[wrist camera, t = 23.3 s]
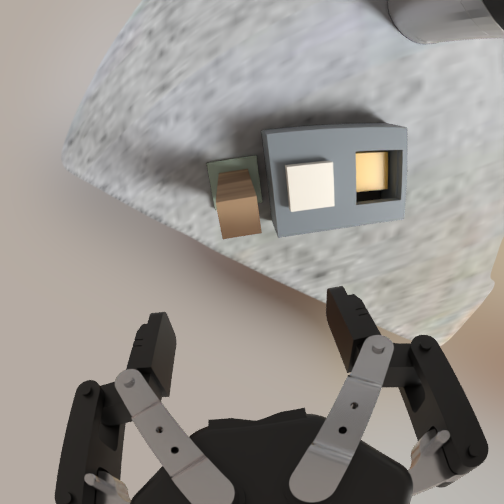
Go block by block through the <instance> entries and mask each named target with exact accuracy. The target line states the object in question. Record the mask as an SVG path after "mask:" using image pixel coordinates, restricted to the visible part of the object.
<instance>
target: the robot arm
mask: <svg viewBox="0 0 504 504" xmlns="http://www.w3.org/2000/svg"><path fill="white" fill-rule="evenodd" d="M388 10H389V14H390V16H391V19H392V21H393V22H394V24H395V26H396V27H397V28H398V29H399V31H400V32H401V33H402V34H403V35H404V36H406V37H407V38H408V39H410V40H412V41H414V42H416V43H419V44H434V43H439V42H448V41H458V40H469V39H488V38H504V0H388ZM326 316H327V321H328V325H329V327H330V330H331V332H332V334H333V337H334V340H335V342H336V345H337V347H338V350H339V352H340V355H341V358H342V360H343V363H344V365H345V368H346V370H347V373H349V372H351V374H350V375H348V377H347V378H346V380H345V382H344V384H343V387H342V389H341V391H340V393H339V395H338V397H337V399H336V401H335V403H334V405H333V407H332V409H331V411H330V412H329V414H328V416H327V418H325V417H323V416H319V415H314V414H306V412H305V408H301V409H296V410H290V411H284V412H280V413H277V414H274V415H272V416H269V417H267V418H264V419H261V420H258V421H251V420H243V419H234V418H228V419H216V420H209V426H208V427H205V428H203V429H200V430H198V431H196V432H195V433H193V434H192V435H191V436H190V437H188V436H187V434H186V433H185V432H184V431H183V429H182V428H181V427H180V426H179V425H178V423H177V422H176V421H175V419H174V418H173V417H172V416H171V414H170V413H169V412H168V410H167V409H166V408H165V407H164V405H163V404H162V403H161V399H162V397H169V395H170V387H171V379H172V371H173V364H174V356H175V350H176V336H175V333H174V330H173V328H172V325H171V323H170V321H169V318H168V316H167V314H166V312H159V313H151V314H150V317H149V320H148V323H147V324H143V325H142V326H141V327H140V329H139V330H138V331H137V333H136V337H135V341H134V343H133V348H132V350H131V354H130V358H129V361H128V365H127V369H126V370H124V371H123V372H121V373H120V374H119V375H118V376H117V377H116V379H115V382H112V383H109V384H106V385H102V386H100V385H99V384H98V383H97V382H96V381H93V380H89V381H85V382H83V383H82V384H80V385H79V387H78V388H77V390H76V393H75V397H74V401H73V404H72V408H71V412H70V416H69V420H68V424H67V429H66V433H65V438H64V443H63V447H62V452H61V458H60V464H59V469H58V475H57V482H56V490H55V501H56V504H410V501H411V498H412V496H413V495H416V494H419V493H421V492H424V491H426V490H429V489H431V488H433V487H435V486H436V487H446V486H448V485H450V484H451V483H453V482H455V481H456V480H458V479H459V478H461V477H463V476H464V475H466V474H467V473H469V472H470V471H472V470H473V469H475V468H476V467H477V466H479V465H480V464H481V463H483V461H484V460H485V459H486V457H487V454H488V444H487V441H486V439H485V436H484V434H483V432H482V429H481V427H480V425H479V422H478V420H477V418H476V416H475V413H474V411H473V409H472V407H471V405H470V403H469V401H468V399H467V397H466V395H465V393H464V391H463V389H462V387H461V385H460V383H459V381H458V379H457V377H456V375H455V373H454V371H453V369H452V368H451V366H450V364H449V362H448V360H447V358H446V357H445V355H444V353H443V351H442V350H441V348H440V346H439V344H438V343H437V341H436V340H435V339H434V338H432V337H431V336H428V335H419V336H416V337H415V338H414V339H413V340H412V342H411V344H397V343H392V341H391V340H390V339H389V338H387V337H385V336H382V335H381V334H380V332H379V330H378V328H377V326H376V325H375V323H374V321H373V319H372V317H371V316H370V314H369V312H368V310H367V309H366V308H365V305H364V303H363V302H362V300H361V299H360V298H358V297H357V296H356V295H354V294H352V295H347V293H346V291H345V289H344V287H343V286H339V287H334V288H328V289H327V304H326ZM382 387H398V388H399V390H400V393H401V395H402V398H403V400H404V403H405V406H406V408H407V411H408V414H409V416H410V419H411V422H412V425H413V428H414V430H415V434H416V437H417V439H418V442H417V444H416V445H415V446H414V447H413V449H412V452H411V460H412V462H411V467H410V469H409V470H407V469H406V468H405V467H404V466H403V465H401V464H400V463H398V462H396V461H394V460H393V459H391V458H389V457H388V456H386V455H384V454H382V453H381V452H379V451H378V450H376V449H375V448H373V447H371V446H369V445H368V444H367V443H365V442H363V441H362V440H361V437H362V435H363V433H364V431H365V429H366V426H367V424H368V422H369V419H370V417H371V414H372V411H373V409H374V407H375V404H376V401H377V399H378V396H379V393H380V390H381V388H382ZM131 421H133V422H134V424H135V425H136V427H137V429H138V430H139V432H140V433H141V435H142V437H143V438H144V439H145V441H146V443H147V444H148V446H149V447H150V448H151V450H152V451H153V453H154V454H155V456H156V457H157V459H158V460H159V461H160V463H161V464H162V465H163V466H162V467H161V468H160V469H159V471H157V473H156V474H155V475H154V476H153V477H152V478H151V479H150V480H149V481H148V482H147V483H146V484H145V485H144V486H143V488H141V489H140V490H139V491H138V493H136V495H135V496H134V497H133V498H132V500H130V498H129V495H128V489H127V487H126V485H125V484H124V483H123V482H122V481H120V474H121V461H122V450H123V440H124V431H125V423H127V422H131Z"/></svg>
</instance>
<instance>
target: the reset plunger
mask: <svg viewBox="0 0 504 504" xmlns="http://www.w3.org/2000/svg"><path fill="white" fill-rule="evenodd" d="M355 153H356V192H363V191H373V190H383V189H388V152H386V151H384V150H377V151H356V152H355Z"/></svg>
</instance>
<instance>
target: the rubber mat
mask: <svg viewBox="0 0 504 504" xmlns="http://www.w3.org/2000/svg"><path fill="white" fill-rule="evenodd" d="M207 169H208V174H209V180H210V185H211V190H212V196H213V201H214V206H215V210H217V207H216V194H217V185H218V176H219V173H224V172H229V171H236V170H242V169H248V171H249V175H250V178H251V181H252V184H253V187H254V190H255V193H256V196H257V203H262V195H261V187H260V179H259V171H258V164H257V156H256V155H254V156H247V157H240V158H234V159H227V160H221V161H215V162H210V163H207Z"/></svg>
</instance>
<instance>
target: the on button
mask: <svg viewBox="0 0 504 504" xmlns="http://www.w3.org/2000/svg"><path fill="white" fill-rule="evenodd" d="M285 170H286V180H287V191H288V202H289V209H290V211H291V212H295V211H302V210H309V209H317V208H324V207H332V206H335V204H334V174H333V162H331V161H319V162H309V163H299V164H291V165H285Z"/></svg>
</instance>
